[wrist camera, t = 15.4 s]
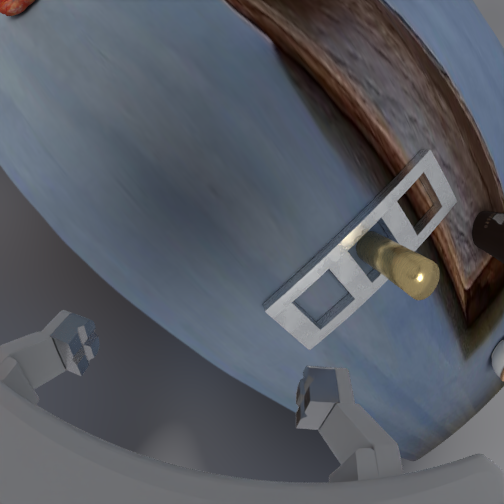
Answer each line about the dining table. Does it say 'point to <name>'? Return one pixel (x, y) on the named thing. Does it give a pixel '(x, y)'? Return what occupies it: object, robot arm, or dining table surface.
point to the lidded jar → (498, 360)
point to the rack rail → (336, 251)
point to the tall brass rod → (399, 264)
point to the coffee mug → (490, 233)
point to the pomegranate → (14, 6)
